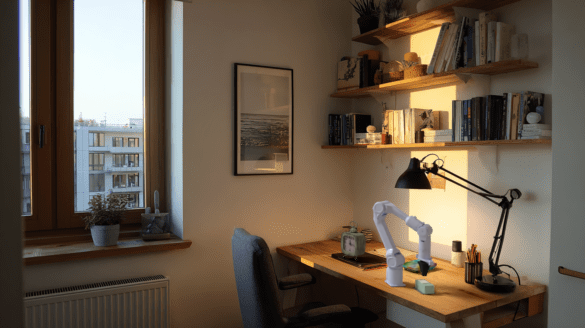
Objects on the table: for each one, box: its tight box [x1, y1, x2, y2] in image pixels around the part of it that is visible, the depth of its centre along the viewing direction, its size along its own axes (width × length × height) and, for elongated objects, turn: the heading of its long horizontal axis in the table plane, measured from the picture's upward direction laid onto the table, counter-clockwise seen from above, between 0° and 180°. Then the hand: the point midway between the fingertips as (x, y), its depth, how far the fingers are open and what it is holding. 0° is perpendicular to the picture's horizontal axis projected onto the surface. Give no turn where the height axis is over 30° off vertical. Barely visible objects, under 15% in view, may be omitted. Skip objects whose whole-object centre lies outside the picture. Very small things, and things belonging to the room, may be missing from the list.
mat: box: [412, 286, 436, 295], centre depth 208 cm, size 10×7×1 cm
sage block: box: [414, 278, 435, 295], centre depth 207 cm, size 4×5×10 cm
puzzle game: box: [403, 258, 438, 274], centre depth 246 cm, size 12×5×20 cm
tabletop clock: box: [340, 220, 367, 260], centre depth 267 cm, size 14×9×25 cm, turn 37°
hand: (424, 275), depth 208 cm, fingers closed
